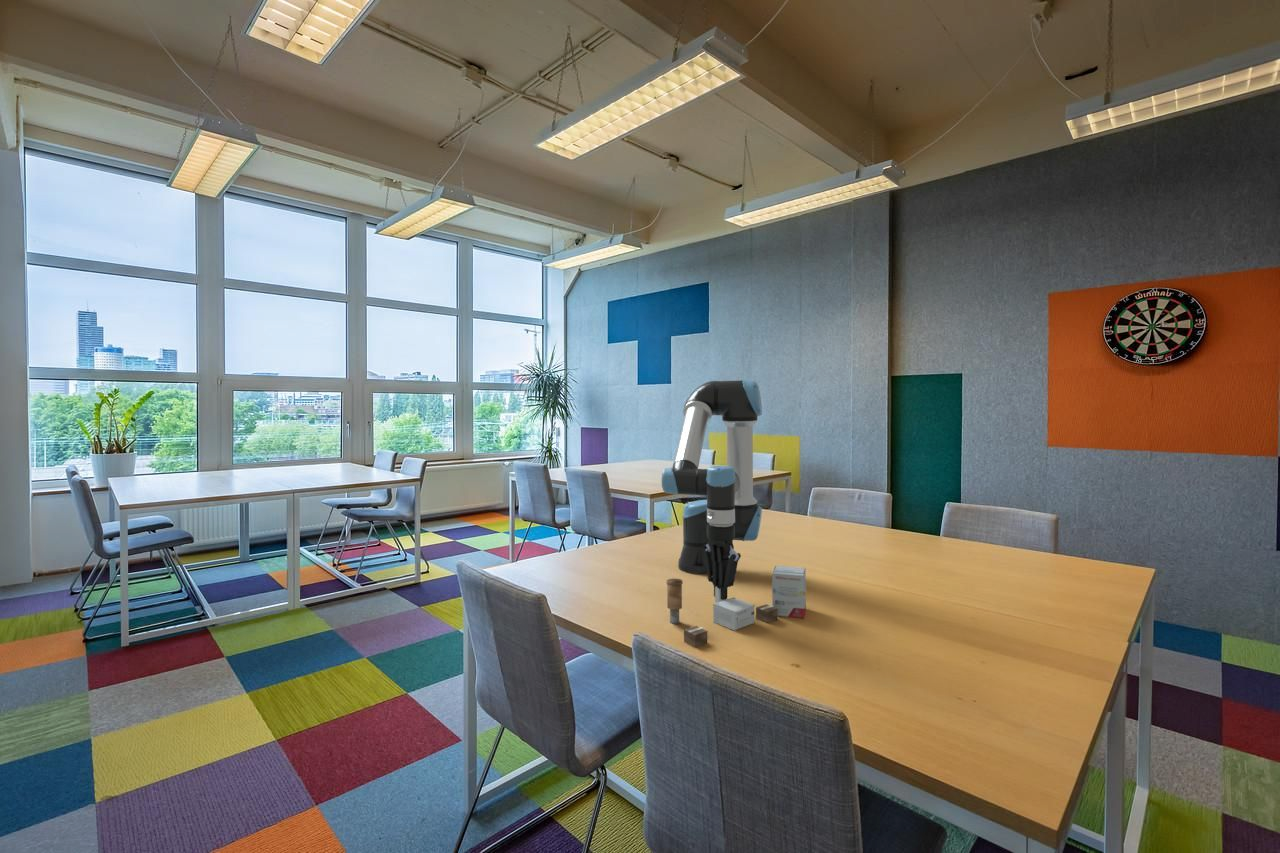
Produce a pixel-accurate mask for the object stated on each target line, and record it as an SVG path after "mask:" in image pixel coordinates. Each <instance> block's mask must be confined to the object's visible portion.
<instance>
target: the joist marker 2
mask: <svg viewBox="0 0 1280 853" xmlns="http://www.w3.org/2000/svg"><path fill="white" fill-rule="evenodd" d="M778 617H779V616H778V608H775V607H773V606H772V605H771V604H764V605H763V604H762V605H760V606H757V607H755V620H759V621H761V622H764V623H766V624H768V623H771V622H772V623H773V622H775V621H777V620H778V619H779V618H778Z"/></svg>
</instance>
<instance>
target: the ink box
mask: <svg viewBox="0 0 1280 853" xmlns="http://www.w3.org/2000/svg"><path fill="white" fill-rule="evenodd" d="M806 572H807V571H806V567H801V566H800V567H799V566H798V567H797V566H787V565H786V566H785V565H778V564H777V565H774V568H773V571H772V573H771V577H772V578H771V586H772V587H771V588H772V605H771V606H773V607H775V608H778V617H786V618H787V617H788V618H789V617H790V618H797V619H805V617H806V613H807V612H806V611H807V610H806V608H807V599H806V598H807V597H806V596H807V573H806Z"/></svg>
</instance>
